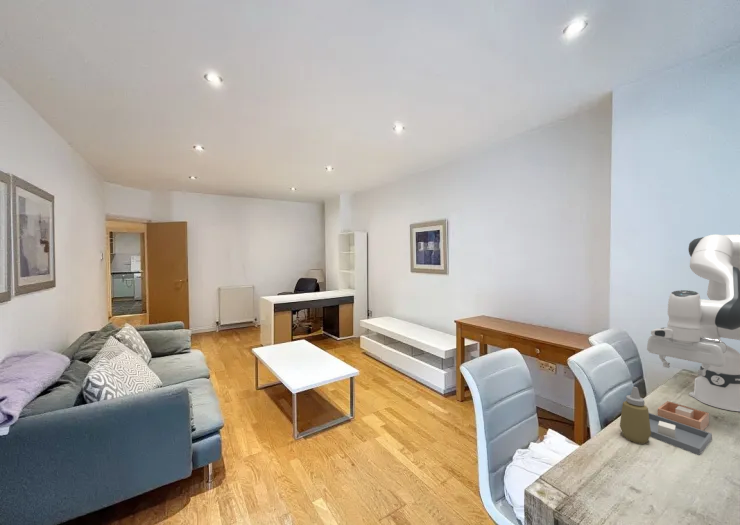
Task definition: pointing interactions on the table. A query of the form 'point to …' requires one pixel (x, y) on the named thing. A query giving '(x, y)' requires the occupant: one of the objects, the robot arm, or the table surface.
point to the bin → (699, 416)
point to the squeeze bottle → (635, 418)
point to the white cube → (685, 412)
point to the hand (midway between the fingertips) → (683, 371)
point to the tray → (681, 435)
